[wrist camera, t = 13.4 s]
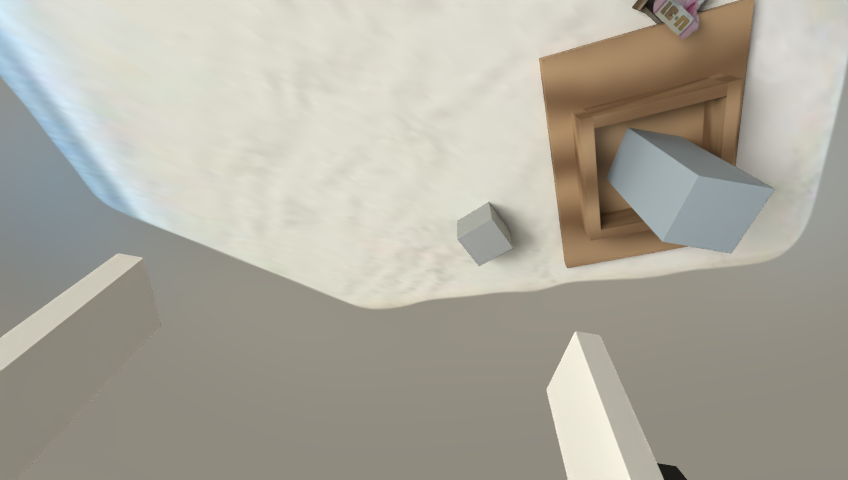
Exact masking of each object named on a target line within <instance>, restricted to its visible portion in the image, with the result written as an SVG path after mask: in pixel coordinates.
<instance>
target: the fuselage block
mask: <svg viewBox="0 0 848 480" xmlns="http://www.w3.org/2000/svg"><path fill="white" fill-rule="evenodd" d="M606 179H607V180H608V181H609V183H610V184H611V185H612V186H613V187H614V188H615V189H616V190H617V191H618V193H619V194H620V195H621V196H622V197H623V198H624V199H625V200H626V202H627V203H628V204H629V205H630V206H631V207H632V208H633V209H634V210H635V212H636V213H637V214H638V215H639V216H640V217H641V218H642V219H643V221H644V222H645V223H646V224H647V225H648V226H649V227H650V228H651V230H652V231H653V232H654V233H655V234H656V235H657V236H658V237H659V238H660V240H661V241H662V242H667V243H673V244H679V245H685V246H691V247H697V248H702V249H708V250H714V251H720V252H726V253H732V252H733V250H734V249H735V247H736V246H737V244H738V243H739V241H740V240H741V238H742V237H743V235H744V234H745V232H746V231H747V229H748V228H749V226H750V225H751V223H752V222H753V220H754V219H755V217H756V216H757V215H758V213H759V212H760V210H761V209H762V207H763V206H764V204H765V203H766V201H767V200H768V198H769V197H770V195H771V194H772V192H773V191H774V188H772V187H770V186H769V185H767V184H765V183H763V182H761V181H760V180H758V179H756V178H754V177H752V176H751V175H749V174H747V173H745V172H744V171H742V170H740V169H738V168H736V167H735V166H733V165H731V164H729V163H727V162H726V161H724V160H722V159H720V158H719V157H717V156H715V155H713V154H711V153H710V152H708V151H706V150H704V149H702V148H701V147H699V146H697V145H695V144H693V143H692V142H690V141H688V140H686V139H685V138H683V137H680V136H675V135H669V134H663V133H657V132H652V131H646V130H640V129H634V128H629V127H627V130H626V132H625V134H624V137H623V139H622V141H621V144H620V146H619V149H618V151H617V153H616V156H615V158H614V160H613V163H612V165H611V167H610V170H609V172H608V175H607V177H606Z"/></svg>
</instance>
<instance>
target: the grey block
mask: <svg viewBox="0 0 848 480" xmlns="http://www.w3.org/2000/svg"><path fill="white" fill-rule="evenodd" d="M457 230H458V240H459V242H460V243H461V244H462V245H463V247H464V248H465V249H466V250H467V252H468V253H469V254H470V255H471V257H472V258H473V259H474V260H475V262H476V263H477V264H478V266H481V265H483V264H484V263H486V262H488V261H490V260H492V259H494V258H495V257H497V256H499V255H501V254H503V253H505V252H507V251H508V250H510V249H512V248H513V247H512V242H511V238H510V234H509V230H508V228H507V227H506V225H505V224H504V223H503V221H502V220H501V218H500V217H499V215H498V214H497V213H496V211H495V210H494V208H493V207H492V206H491V204H490V203H489V202H488V203H486V204H485V205H483V206H481V207H480V208H478V209H476V210H475V211H473V212H472V213H470V214H468V215H467V216H465V217H463V218H462V219H460V220H458V221H457Z"/></svg>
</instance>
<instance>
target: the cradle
mask: <svg viewBox="0 0 848 480" xmlns="http://www.w3.org/2000/svg"><path fill="white" fill-rule="evenodd" d="M753 8H754V0H739V1H735V2H732V3H729V4H725V5H722V6H718V7H715V8H711V9H708V10H704V11H701V12H698V13H697V14H698V15H699V28H698V29H697V30H696V31H694V32H693V33H692V34H690V35H689V36H688V37H686V38H685V39H680V38H679V37H680V36H679V35H677V34H676V33H675V32H673V31H672V30H671V29H670V28H669V27H668V26H667V25H666V24H665V23H661V24H656V25H653V26H649V27H646V28H642V29H639V30H636V31H632V32H629V33H625V34H622V35H618V36H615V37H611V38H608V39H605V40H601V41H598V42H594V43H591V44H587V45H584V46H580V47H577V48H574V49H570V50H567V51H563V52H560V53H556V54H553V55H549V56H546V57H542V58H539V62H540V70H541V78H542V85H543V93H544V101H545V109H546V117H547V125H548V133H549V141H550V149H551V157H552V165H553V173H554V180H555V188H556V196H557V204H558V212H559V220H560V228H561V236H562V244H563V252H564V260H565V265H566V267H567V268H571V267H577V266H582V265H588V264H593V263H599V262H604V261H610V260H615V259H621V258H626V257H632V256H637V255H643V254H648V253H654V252H659V251H665V250H670V249H676V248H681V247H687V246H685V245H679V244H673V243H667V242H662V241H661V240H660V238H659V237H658V236H657V235H656V234H655V233H654V232H653V231H652V230H651V228H650V227H649V226H648V225H647V224H646V223H645V222H644V221H643V219H642V218H641V217H640V216H639V215H638V214H637V213H636V212H635V210H634V209H633V208H632V207H631V206H630V205H629V204H628V203H627V202H626V200H625V199H624V198H623V197H622V196H621V195H620V194H619V193H618V191H617V190H616V189H615V188H614V187H613V186H612V185H611V184H610V183H609V181H608V180H607V179H606V177H607V175H608V172H609V170H610V167H611V165H612V163H613V160H614V158H615V156H616V153H617V151H618V149H619V146H620V144H621V141H622V139H623V137H624V134H625V132H626V130H627V127H629V128H634V129H640V130H646V131H652V132H657V133H663V134H669V135H675V136H680V137H683V138H685V139H686V140H688V141H690V142H692V143H693V144H695V145H697V146H699V147H701V148H702V149H704V150H706V151H708V152H710V153H711V154H713V155H715V156H717V157H719V158H720V159H722V160H724V161H726V162H727V163H729V164H731V165H733V166H735V165H736V156H737V147H738V139H739V130H740V121H741V113H742V104H743V95H744V86H745V78H746V69H747V60H748V52H749V43H750V34H751V26H752V17H753Z"/></svg>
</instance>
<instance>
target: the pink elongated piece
mask: <svg viewBox="0 0 848 480" xmlns="http://www.w3.org/2000/svg"><path fill="white" fill-rule="evenodd" d="M704 2H705V0H638V1H637V2H636V3H635V4H634V5H633V7H632V8H634V9H636V10H639V11H641V12H644V13H645V14H647V15H648V16H649V17H650V18H651V19H652V20H653V21H655V22H656V23H657V24H661V23H665V24H666V25H667V26H668V27H669V28H670V29H671V30H672V31H673V32H675V33H676V34H677V35H679V36H680V37H679V38H680V39H685V38H686V37H688V36H689V35H690V34H692V33H693V32H694V31H696V30H697V29H698V28H699V15H698V14H697V10H698V9H699V8H700V6H701V5H702V4H703V3H704Z"/></svg>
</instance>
